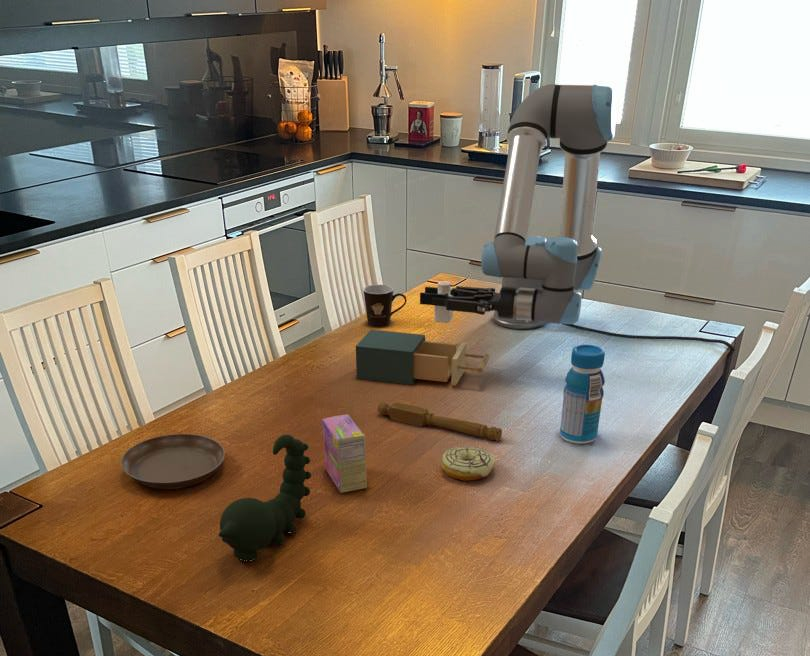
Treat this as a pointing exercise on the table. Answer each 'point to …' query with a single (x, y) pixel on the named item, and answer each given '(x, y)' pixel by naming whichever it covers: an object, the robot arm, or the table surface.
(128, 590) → the table surface
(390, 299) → the coffee mug
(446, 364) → the drawer
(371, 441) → the table surface
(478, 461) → the decorated donut
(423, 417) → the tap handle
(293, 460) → the toy figurine
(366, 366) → the cabinet
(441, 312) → the pepper shaker
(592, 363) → the beverage bottle
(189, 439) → the plant saucer
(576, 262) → the robot arm
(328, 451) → the box
